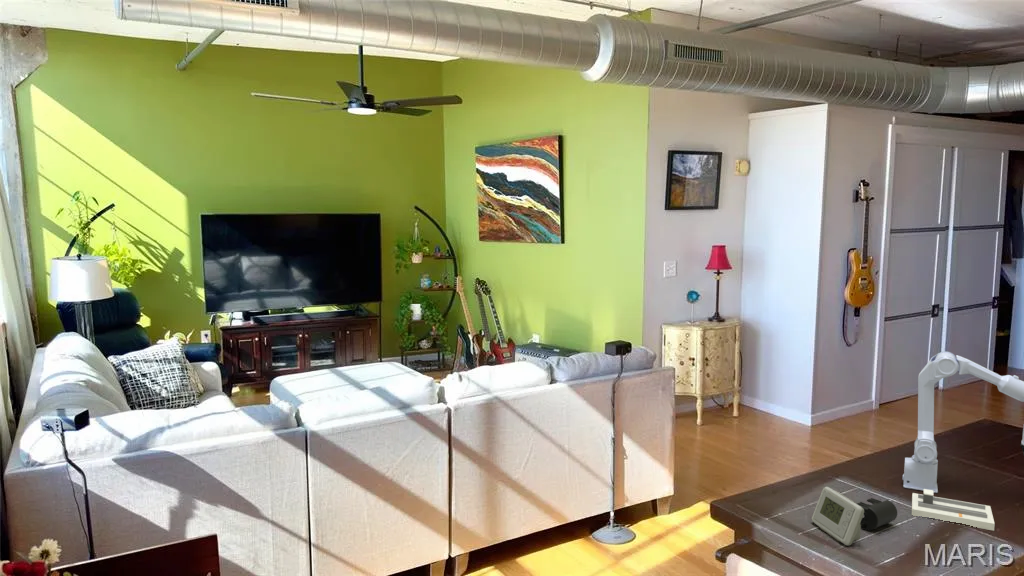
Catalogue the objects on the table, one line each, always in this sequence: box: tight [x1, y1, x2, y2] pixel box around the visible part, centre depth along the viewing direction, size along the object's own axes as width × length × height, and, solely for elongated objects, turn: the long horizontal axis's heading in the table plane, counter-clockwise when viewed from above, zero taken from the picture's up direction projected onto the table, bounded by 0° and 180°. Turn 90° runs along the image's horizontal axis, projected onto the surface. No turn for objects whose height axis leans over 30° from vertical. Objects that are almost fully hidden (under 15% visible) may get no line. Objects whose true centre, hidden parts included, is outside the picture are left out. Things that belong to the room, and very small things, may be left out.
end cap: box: [856, 497, 898, 531], centre depth 202 cm, size 10×7×7 cm
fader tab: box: [922, 489, 935, 505], centre depth 213 cm, size 2×4×3 cm, turn 151°
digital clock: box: [811, 486, 864, 546], centre depth 197 cm, size 16×9×11 cm, turn 179°
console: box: [911, 492, 996, 532], centre depth 210 cm, size 20×14×3 cm
